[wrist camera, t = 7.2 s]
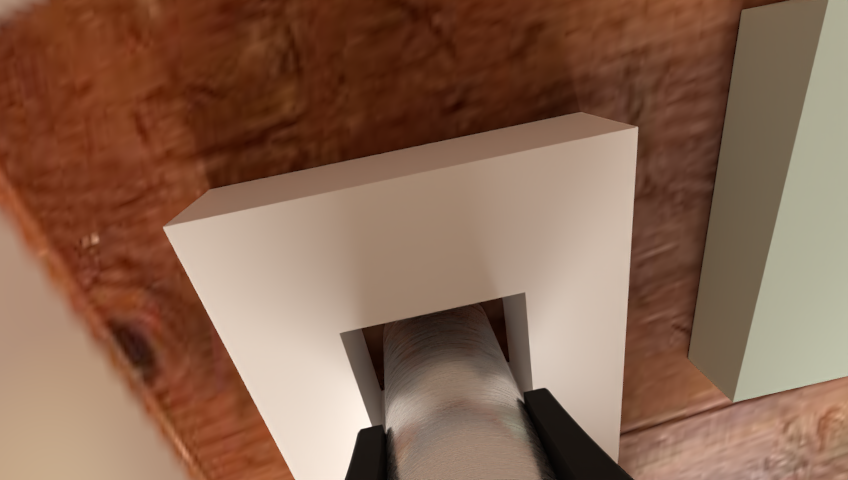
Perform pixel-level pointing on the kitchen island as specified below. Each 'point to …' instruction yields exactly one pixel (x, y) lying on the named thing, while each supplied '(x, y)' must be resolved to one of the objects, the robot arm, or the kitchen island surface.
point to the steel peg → (455, 403)
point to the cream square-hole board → (421, 272)
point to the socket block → (779, 208)
